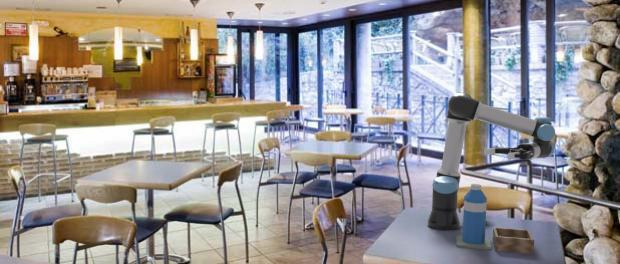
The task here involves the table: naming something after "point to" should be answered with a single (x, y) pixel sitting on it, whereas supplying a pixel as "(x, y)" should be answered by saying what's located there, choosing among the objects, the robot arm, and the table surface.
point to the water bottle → (474, 215)
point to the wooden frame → (513, 240)
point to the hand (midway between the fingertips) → (496, 153)
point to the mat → (478, 246)
